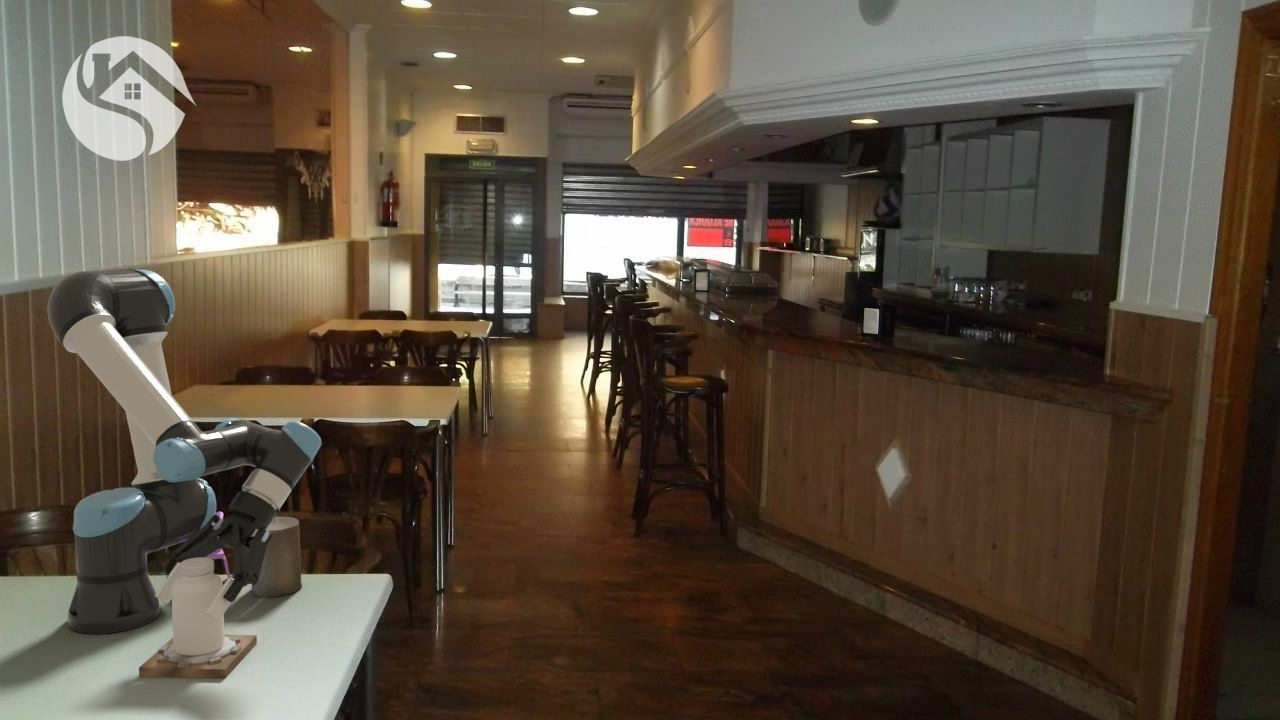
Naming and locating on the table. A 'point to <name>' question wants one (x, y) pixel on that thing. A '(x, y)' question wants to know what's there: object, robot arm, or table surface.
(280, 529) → the pillar candle
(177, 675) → the gear board
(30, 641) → the table surface
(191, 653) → the pill bottle
